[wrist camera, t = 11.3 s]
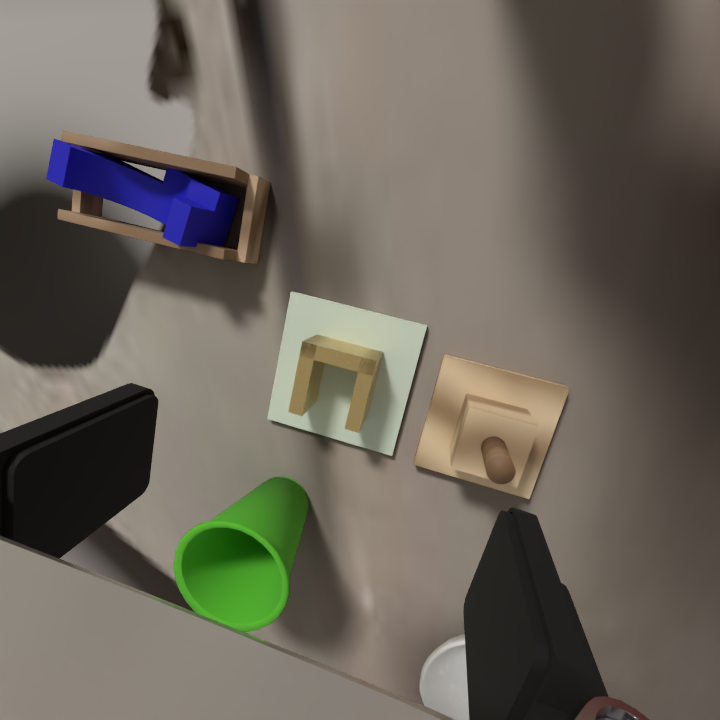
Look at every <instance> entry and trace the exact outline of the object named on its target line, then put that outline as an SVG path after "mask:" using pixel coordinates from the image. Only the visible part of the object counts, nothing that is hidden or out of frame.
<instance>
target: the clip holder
mask: <svg viewBox="0 0 720 720" xmlns="http://www.w3.org/2000/svg"><path fill="white" fill-rule="evenodd" d="M62 141H63V142H66V143H69V144H72V145H76V146H79V147H82V148H85V149H88V150H91V151H95V152H98V153H101V154H104V155H107V156H110V157H113V158H116V159H119V160H121V161H126V162H130V163H135V164H139V165H144V166H148V167H153V168H157V169H162V170H167V168H171V169H176V170H179V171H181V172H184V173H187V174H189V175H192V176H194V177H199V178H203V179H208V180H212V181H217V182H222V183H226V184H231V185H235V186H240V187H244V188H247V191H246V198H245V205H244V211H243V218H242V224H241V231H240V238H239V244H238V250H237V249H233V248H229V247H225V246H217V245H210V244H203V243H197V245H196V247H186V246H178V245H176V244H174V243H173V242H171V241H169V240H167V239H165V238H163V234H164V232H163V231H159V230H154V229H150V228H146V227H142V226H138V225H133V224H129V223H125V222H121V221H117V220H113V219H109V218H105V217H102V205H103V198H102V197H98V196H95V195H92V194H89V193H85V192H82V191H78V190H74V189H73V200H72V211H67V210H61V209H58V219H60V220H65V221H68V222H73V223H77V224H81V225H85V226H89V227H93V228H97V229H101V230H105V231H109V232H113V233H117V234H121V235H125V236H129V237H133V238H138V239H141V240H145V241H150V242H154V243H158V244H162V245H166V246H170V247H174V248H178V249H182V250H186V251H190V252H194V253H198V254H202V255H206V256H211V257H215V258H219V259H223V260H234V261H239V262H243V263H253V264H257V263H258V257H259V251H260V245H261V239H262V233H263V227H264V220H265V214H266V208H267V202H268V196H269V190H270V184H271V183H270V182H268V181H266V180H264V179H263V178H261V177H259V176H256V175H251V174H248V173H246V172H244V171H242V170H241V169H239V168H237V167H233V166H228V165H224V164H219V163H214V162H210V161H205V160H200V159H195V158H191V157H186V156H181V155H176V154H171V153H167V152H162V151H157V150H153V149H148V148H143V147H139V146H134V145H129V144H124V143H119V142H115V141H110V140H106V139H101V138H96V137H91V136H87V135H82V134H77V133H72V132H68V131H62Z"/></svg>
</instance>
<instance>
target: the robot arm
mask: <svg viewBox="0 0 720 720" xmlns="http://www.w3.org/2000/svg"><path fill="white" fill-rule="evenodd" d="M157 409H158V399H157V397H156V396H155V395H154V392H153V391H152V390H151V389H148V388H145V387H142V386H139V385H136V384H133V383H130V384H126V385H124V386H121V387H119V388H116V389H114V390H111V391H109V392H106V393H103V394H101V395H98V396H96V397H93V398H91V399H88V400H85V401H83V402H80V403H78V404H75V405H73V406H70V407H67V408H65V409H62V410H60V411H57V412H55V413H52V414H49V415H47V416H44V417H42V418H39V419H37V420H34V421H31V422H29V423H26V424H24V425H21V426H19V427H16V428H14V429H11V430H8V431H6V432H3V433H1V434H0V720H455V719H453V718H451V717H448V716H446V715H444V714H442V713H440V712H437V711H435V710H433V709H431V708H428V707H426V706H423V705H421V704H418V703H416V702H413V701H411V700H408V699H406V698H404V697H401V696H399V695H396V694H394V693H392V692H389V691H387V690H385V689H382V688H380V687H378V686H375V685H373V684H370V683H368V682H366V681H363V680H361V679H358V678H356V677H353V676H351V675H348V674H346V673H343V672H341V671H339V670H336V669H334V668H331V667H329V666H326V665H324V664H321V663H319V662H316V661H314V660H312V659H309V658H307V657H304V656H302V655H299V654H297V653H294V652H292V651H289V650H287V649H284V648H282V647H280V646H277V645H275V644H272V643H270V642H267V641H265V640H262V639H260V638H257V637H255V636H253V635H250V634H248V633H245V632H243V631H240V630H238V629H235V628H233V627H230V626H228V625H225V624H223V623H220V622H218V621H215V620H213V619H210V618H208V617H205V616H203V615H200V614H198V613H195V612H193V611H190V610H187V609H185V608H182V607H180V606H178V605H175V604H173V603H170V602H168V601H165V600H162V599H160V598H157V597H155V596H153V595H150V594H147V593H145V592H142V591H140V590H137V589H135V588H132V587H130V586H127V585H125V584H122V583H119V582H117V581H115V580H112V579H110V578H107V577H105V576H102V575H100V574H97V573H94V572H92V571H89V570H87V569H84V568H82V567H79V566H77V565H74V564H71V563H69V562H66V561H64V560H61V559H59V558H61V557H62V556H63V555H64V554H66V553H67V552H68V551H70V550H71V549H72V548H73V547H75V546H76V545H77V544H79V543H80V542H81V541H83V540H84V539H85V538H86V537H88V536H89V535H90V534H92V533H93V532H94V531H95V530H97V529H98V528H99V527H101V526H102V525H103V524H105V523H106V522H107V521H108V520H110V519H111V518H112V517H114V516H115V515H116V514H118V513H119V512H120V511H121V510H123V509H124V508H125V507H127V506H128V505H129V504H130V503H132V502H133V501H134V500H136V499H137V498H138V497H139V496H141V495H142V494H143V493H144V492H145V490H146V488H147V487H148V484H149V480H150V471H151V462H152V453H153V444H154V436H155V427H156V418H157ZM464 630H465V649H466V667H467V686H468V704H469V720H649V719H648V718H646V717H645V716H644V715H643V714H641V713H640V712H639V711H637V710H636V709H635V708H633V707H631V706H629V705H627V704H626V703H624V702H622V701H620V700H617V699H614V698H610V697H608V694H607V692H606V689H605V686H604V684H603V681H602V678H601V676H600V673H599V670H598V668H597V665H596V662H595V660H594V657H593V654H592V652H591V649H590V646H589V644H588V641H587V638H586V636H585V633H584V631H583V628H582V625H581V623H580V620H579V617H578V615H577V612H576V609H575V607H574V604H573V601H572V599H571V596H570V593H569V591H568V589H567V587H566V586H565V585H564V584H562V583H561V582H560V579H559V576H558V574H557V571H556V568H555V565H554V562H553V560H552V557H551V554H550V551H549V549H548V546H547V543H546V540H545V538H544V535H543V532H542V529H541V526H540V524H539V521H538V518H537V516H536V515H534V514H531V513H528V512H525V511H522V510H519V509H515V508H510V509H509V510H508V512H505V511H501V512H500V513H499V515H498V517H497V520H496V522H495V525H494V527H493V530H492V532H491V535H490V537H489V540H488V542H487V545H486V547H485V550H484V553H483V555H482V558H481V560H480V563H479V565H478V568H477V570H476V573H475V575H474V578H473V580H472V583H471V585H470V588H469V590H468V593H467V595H466V598H465V603H464Z"/></svg>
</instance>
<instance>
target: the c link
mask: <svg viewBox="0 0 720 720" xmlns="http://www.w3.org/2000/svg"><path fill="white" fill-rule="evenodd" d="M383 353H384V352H382V351H378V350H374V349H370V348H366V347H363V346H359V345H355V344H351V343H348V342H344V341H340V340H336V339H333V338H329V337H325V336H321V335H315V336H313V337H310V338H308V339H306V340H304V341H302V345H301V350H300V355H299V360H298V365H297V370H296V375H295V380H294V385H293V390H292V395H291V400H290V405H289V410H288V412H289V413H293V414H296V415H300V416H303V415H304V414H305V413H306V412H307V411H308V410H309V409H310V408H311V407H312V406H313V405H314V404H315V403H316V402H317V397H318V392H319V388H320V383H321V378H322V374H323V369H324V364H325V363H327V364H331V365H334V366H338V367H342V368H345V369H349V370H353V371H356V372H358V374H357V378H356V382H355V387H354V391H353V395H352V399H351V403H350V408H349V412H348V416H347V420H346V425H345V429H347V430H350V431H354V432H357V433H359V432H360V430H361V428H362V426H363V424H364V422H365V421H366V419H367V417H368V413H369V409H370V405H371V401H372V397H373V393H374V389H375V385H376V381H377V377H378V373H379V369H380V365H381V361H382V357H383Z"/></svg>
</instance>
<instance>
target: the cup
mask: <svg viewBox="0 0 720 720" xmlns="http://www.w3.org/2000/svg"><path fill="white" fill-rule="evenodd" d="M308 509H309V504H308V498H307V495H306V493H305V491H304V489H303V488H302V487H301V485H300V484H298V483H297V482H296V481H294V480H292V479H290V478H286V477H275V478H271V479H269V480H267V481H265V482H264V483H263V484H261V485H260V486H258V487H257V488H256V489H254V490H253V491H251V492H250V493H248V494H247V495H246V496H244V497H243V498H241V499H240V500H239V501H237V502H236V503H234V504H233V505H232V506H230V507H229V508H227V509H226V510H225V511H223V512H222V513H220V514H219V515H218V516H216V517H215V518H213V519H212V520H211V521H208V522H204V523H201V524H199V525H197V526H195V527H194V528H192V529H190V530H189V531H188V532H187V533H186V534H185V536H184V537H183V538H182V539H181V541H180V543H179V545H178V547H177V549H176V554H175V560H174V572H175V579H176V582H177V585H178V588H179V590H180V592H181V594H182V595H183V597H184V599H185V600H186V602H187V603H188V604H189V605H190V606H191V607H192V609H193V610H194V611H195V612H196V613H198V614H200V615H203V616H205V617H208V618H210V619H213V620H215V621H218V622H220V623H223V624H225V625H228V626H230V627H233V628H235V629H238V630H240V631H243V632H248V631H253V630H258V629H261V628H263V627H265V626H267V625H269V624H271V623H272V622H273V621H274V620H275V619H276V618H278V617H279V616H280V615H281V613H282V611H283V610H284V608H285V606H286V605H287V601H288V597H289V593H290V584H289V578H290V574H291V570H292V567H293V563H294V560H295V556H296V552H297V549H298V545H299V542H300V538H301V534H302V531H303V527H304V524H305V520H306V516H307V513H308Z"/></svg>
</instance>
